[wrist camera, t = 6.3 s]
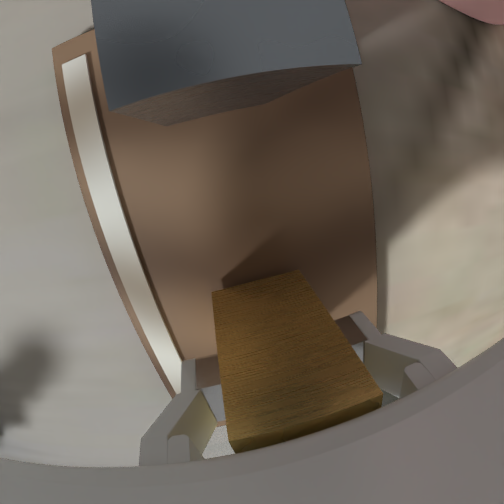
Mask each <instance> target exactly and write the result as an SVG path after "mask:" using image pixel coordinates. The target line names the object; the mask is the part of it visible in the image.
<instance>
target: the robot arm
mask: <svg viewBox="0 0 504 504" xmlns="http://www.w3.org/2000/svg"><path fill="white" fill-rule="evenodd" d="M334 321H335V323H336V324H337V325H338V327H339V328H340V330H341V331H342V333H343V334H344V336H345V337H346V339H347V340H348V342H349V343H350V345H351V346H352V348H353V349H354V351H355V352H356V353H357V355H358V356H359V358H360V359H361V361H362V362H363V364H364V365H365V367H366V368H367V370H368V371H369V373H370V374H371V376H372V377H373V379H374V381H375V382H376V384H377V385H378V387H379V388H381V389H383V390H385V391H387V392H388V393H390V394H392V395H394V396H396V397H398V398H399V400H396V401H394V402H392V403H390V404H388V405H385V406H383V407H381V408H379V409H376V410H374V411H372V412H369V413H367V414H364V415H362V416H360V417H357V418H354V419H352V420H349V421H347V422H344V423H341V424H339V425H336V426H333V427H330V428H327V429H324V430H322V431H319V432H315V433H312V434H309V435H306V436H303V437H300V438H296V439H293V440H289V441H286V442H282V443H279V444H275V445H271V446H267V447H263V448H259V449H255V450H250V451H246V452H241V453H236V454H231V455H226V456H221V457H215V458H209V459H204V458H203V456H202V453H203V451H204V449H205V447H206V446H207V444H208V442H209V440H210V438H211V436H212V434H213V432H214V430H215V428H216V426H217V424H218V422H219V421H223V420H226V418H225V411H224V403H223V396H222V388H221V379H220V371H219V362H218V353H217V354H212V355H208V356H203V357H198V358H194V359H189V360H184V361H182V363H181V393H179V394H176V395H175V397H174V398H173V399H172V401H171V402H170V403H169V404H168V406H167V407H166V408H165V409H164V411H163V412H162V413H161V414H160V416H159V417H158V418H157V419H156V421H155V422H154V423H153V424H152V426H151V427H150V428H149V429H148V431H147V432H146V433H145V434H144V436H143V437H142V438H141V445H140V456H139V466H135V467H71V466H56V465H45V464H36V463H28V462H21V461H15V460H10V459H4V458H0V504H504V338H502V339H501V340H500V341H498V342H497V343H495V344H494V345H493V346H491V347H490V348H488V349H487V350H485V351H484V352H482V353H481V354H479V355H478V356H476V357H475V358H473V359H471V360H470V361H468V362H467V363H465V364H463V365H462V366H460V367H458V368H457V367H456V366H455V365H454V364H453V363H452V361H451V360H450V359H449V358H448V357H447V356H446V355H445V354H444V353H443V352H442V351H441V350H440V349H437V348H434V347H430V346H427V345H423V344H420V343H416V342H413V341H409V340H406V339H403V338H399V337H396V336H393V335H389V334H386V333H385V334H381V333H380V332H379V331H378V330H377V328H376V327H375V326H374V325H373V324H372V323H371V321H370V320H369V319H368V318H367V317H366V316H365V314H364V313H363V312H362V311H358V312H355V313H352V314H350V315H348V316H345V317H342V318H339V319H336V320H334Z"/></svg>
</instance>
